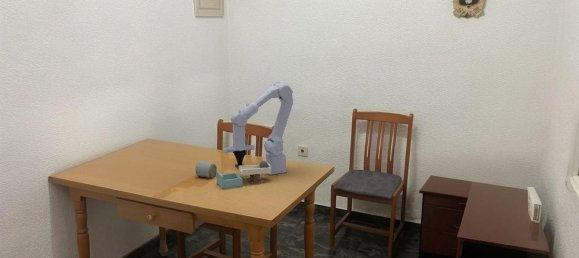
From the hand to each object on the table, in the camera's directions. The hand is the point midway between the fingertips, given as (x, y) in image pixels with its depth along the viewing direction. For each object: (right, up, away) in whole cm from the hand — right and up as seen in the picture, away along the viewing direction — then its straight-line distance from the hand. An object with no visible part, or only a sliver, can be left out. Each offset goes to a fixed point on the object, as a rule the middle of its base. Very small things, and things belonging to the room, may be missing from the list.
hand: (239, 165), depth 237 cm
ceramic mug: (-16, -5, +3) cm, 17 cm away
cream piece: (+6, -2, -2) cm, 7 cm away
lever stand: (+8, -7, -4) cm, 11 cm away
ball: (+12, 0, -4) cm, 12 cm away
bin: (-4, -8, -9) cm, 13 cm away
